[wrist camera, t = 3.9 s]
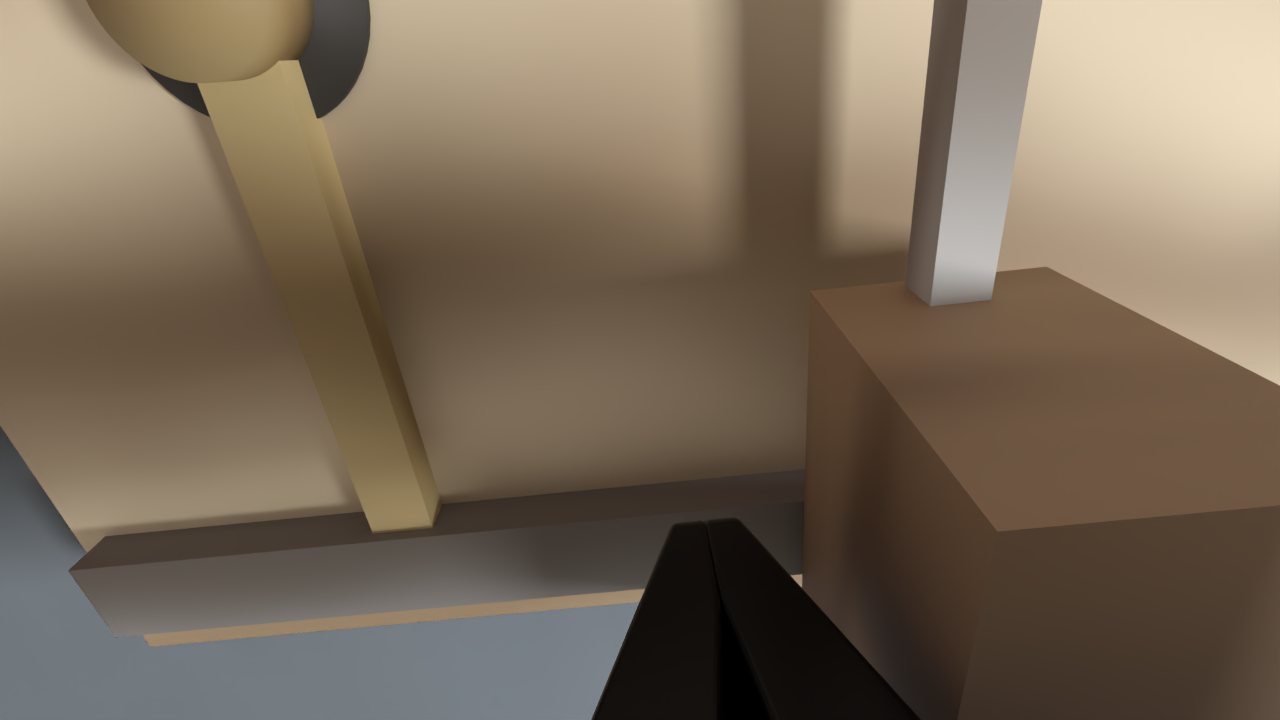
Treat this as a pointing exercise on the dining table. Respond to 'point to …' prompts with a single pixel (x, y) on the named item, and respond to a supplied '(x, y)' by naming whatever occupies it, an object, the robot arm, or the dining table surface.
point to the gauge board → (532, 271)
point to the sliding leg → (1032, 457)
